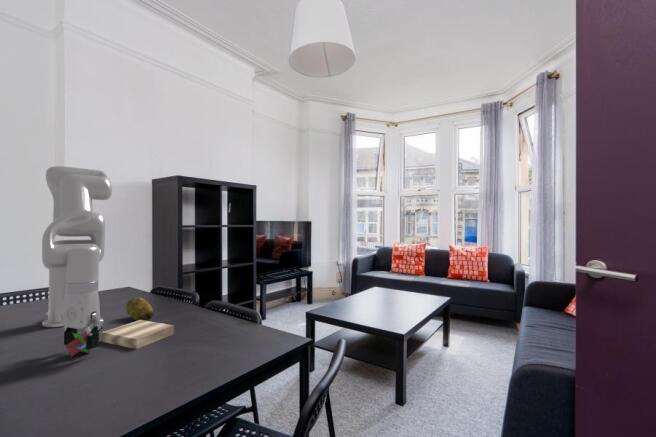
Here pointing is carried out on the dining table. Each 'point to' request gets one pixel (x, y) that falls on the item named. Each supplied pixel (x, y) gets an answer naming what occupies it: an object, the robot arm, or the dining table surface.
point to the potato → (139, 309)
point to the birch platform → (137, 334)
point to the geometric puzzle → (77, 344)
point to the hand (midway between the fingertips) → (81, 345)
